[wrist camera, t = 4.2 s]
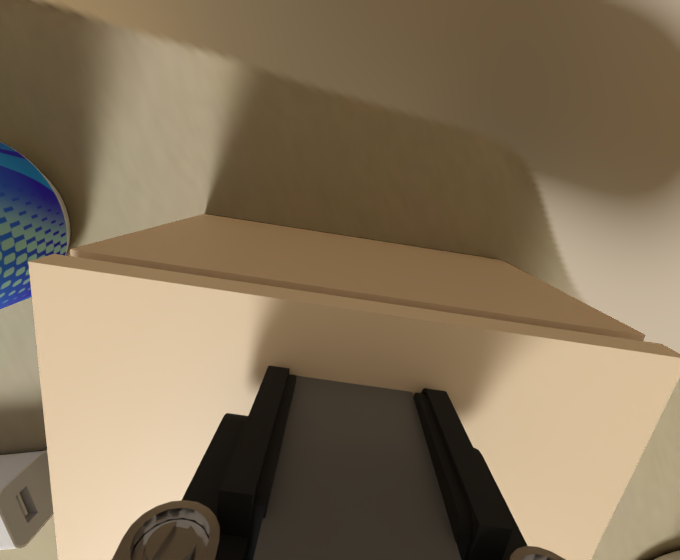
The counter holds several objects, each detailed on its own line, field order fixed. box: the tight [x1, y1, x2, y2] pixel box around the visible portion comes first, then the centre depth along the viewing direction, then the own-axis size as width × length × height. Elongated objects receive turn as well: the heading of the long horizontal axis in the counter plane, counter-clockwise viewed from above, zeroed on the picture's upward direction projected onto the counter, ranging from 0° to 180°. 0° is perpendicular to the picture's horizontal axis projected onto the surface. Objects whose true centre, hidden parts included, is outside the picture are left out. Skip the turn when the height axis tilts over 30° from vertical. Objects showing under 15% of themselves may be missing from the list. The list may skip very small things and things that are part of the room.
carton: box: [70, 214, 645, 341], centre depth 17 cm, size 16×14×10 cm
